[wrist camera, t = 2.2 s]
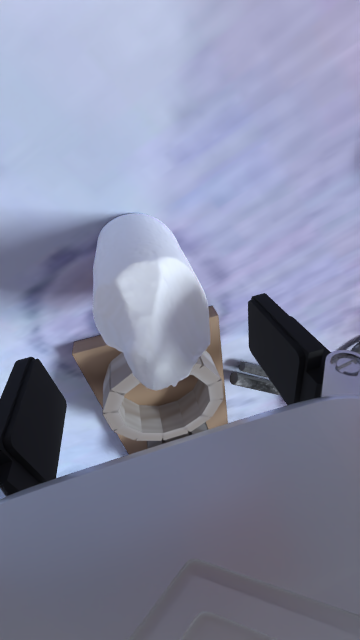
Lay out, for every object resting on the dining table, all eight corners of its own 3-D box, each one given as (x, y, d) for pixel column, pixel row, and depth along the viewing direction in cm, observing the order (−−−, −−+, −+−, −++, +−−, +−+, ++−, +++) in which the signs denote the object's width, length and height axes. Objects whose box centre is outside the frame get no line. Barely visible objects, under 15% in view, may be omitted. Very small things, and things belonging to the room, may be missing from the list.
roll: (277, 352, 10) (189, 438, 12) (193, 242, 19) (152, 301, 21) (136, 280, 7) (52, 410, 9) (119, 193, 17) (80, 266, 19)
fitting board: (73, 342, 22) (67, 383, 18) (212, 305, 23) (231, 338, 19) (135, 456, 34) (139, 495, 30) (225, 429, 35) (238, 464, 31)
